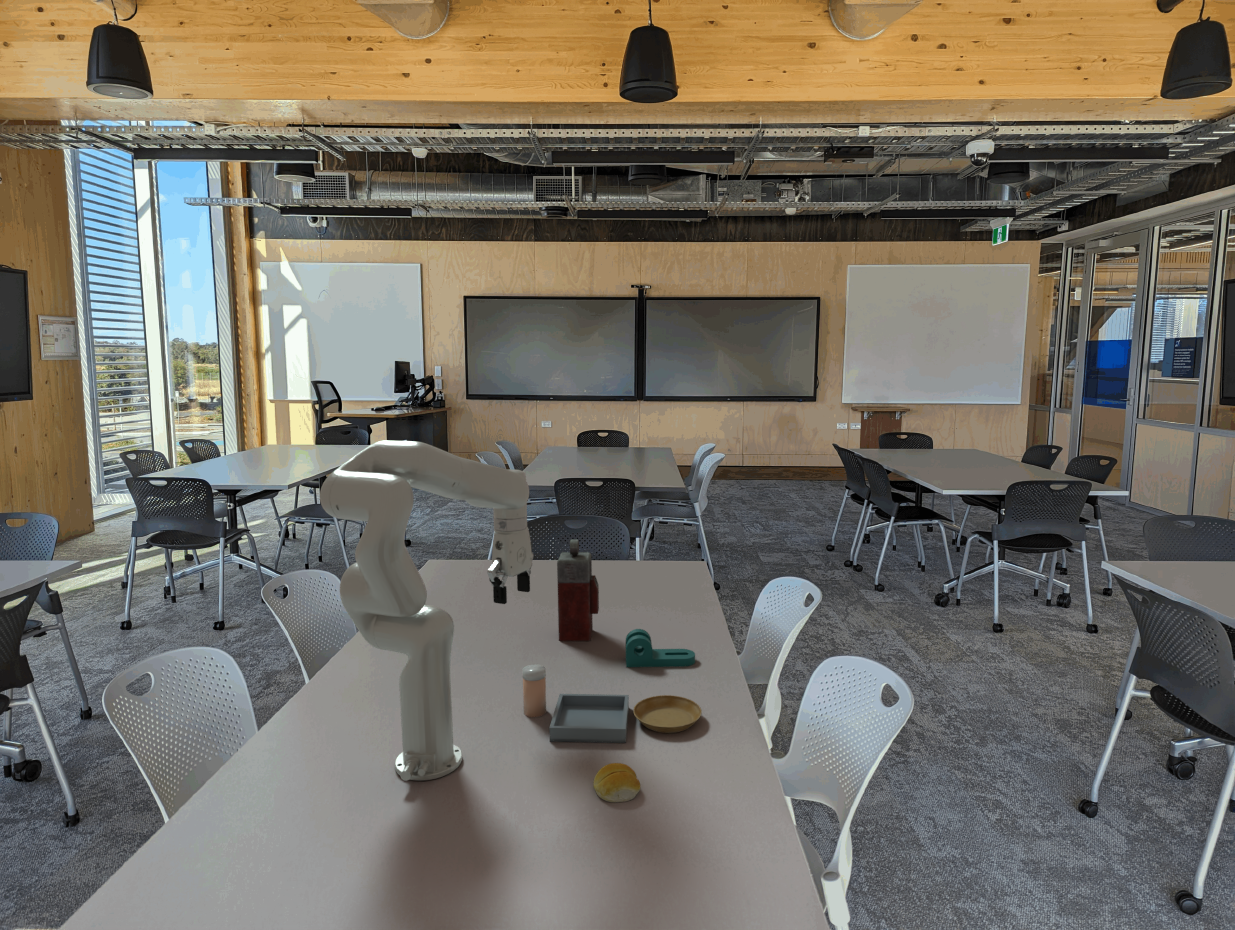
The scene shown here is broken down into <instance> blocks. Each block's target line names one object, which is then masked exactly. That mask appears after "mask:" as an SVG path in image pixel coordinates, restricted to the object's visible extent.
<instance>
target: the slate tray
mask: <svg viewBox="0 0 1235 930" xmlns="http://www.w3.org/2000/svg"><path fill="white" fill-rule="evenodd" d="M629 695H630V694H602V693H601V694H599V693H598V694H594V693H593V694H591V693H587V694H586V693H559V694H558V698H557V701H556V704H555V708H554V710H553V711H554V712H553V714H552V718H551V722H550V724H549V727H548V728H549V733H548V734H549V742H555V743H558V742H559V743H560V742H561V743H562V742H563V743H603V744H604V743H605V744H606V743H607V744H617V743H618V744H626V743H627V733H628V722H629V711H630V710H629V709H630V707H629V706H630V702H629V701H630V700H629V699H630V698H629V697H630V696H629Z"/></svg>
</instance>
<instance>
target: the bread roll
mask: <svg viewBox="0 0 1235 930" xmlns="http://www.w3.org/2000/svg"><path fill="white" fill-rule="evenodd" d="M592 783H593V790H594V791H595V793H596V794H597V796H598V797H599V798H600V799H601V800H603V801H605V802H607V803H624V802H628V801H631V800H634V798H635V797H637V795H638V794H639V792H640V790H641V783H640V780H639V779H638V778H637V774H636V772H635V770H634V769H633V768H632V767H631V766H629V765H627V764H625V763H621V762H612V763H608V764H606V765H604V766H602V767H601V768H600V769H599V770H598V771H597V773H596V774H595V776H594V779H593V782H592Z"/></svg>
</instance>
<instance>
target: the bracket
mask: <svg viewBox="0 0 1235 930" xmlns="http://www.w3.org/2000/svg"><path fill="white" fill-rule="evenodd" d="M651 637H652V636H651V635H650V633H649V632H648V631H646V630H645V629H642V628H635V629H632V630H631V631H629V632H628V633H627V635H626V636H625V668H667V667H668V668H669V667H675V668H677V667H681V668H685V667H691V666H693V665H695V663H696V653H695V651H693V650H691V649H687V648H653V645H652V638H651Z"/></svg>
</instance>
